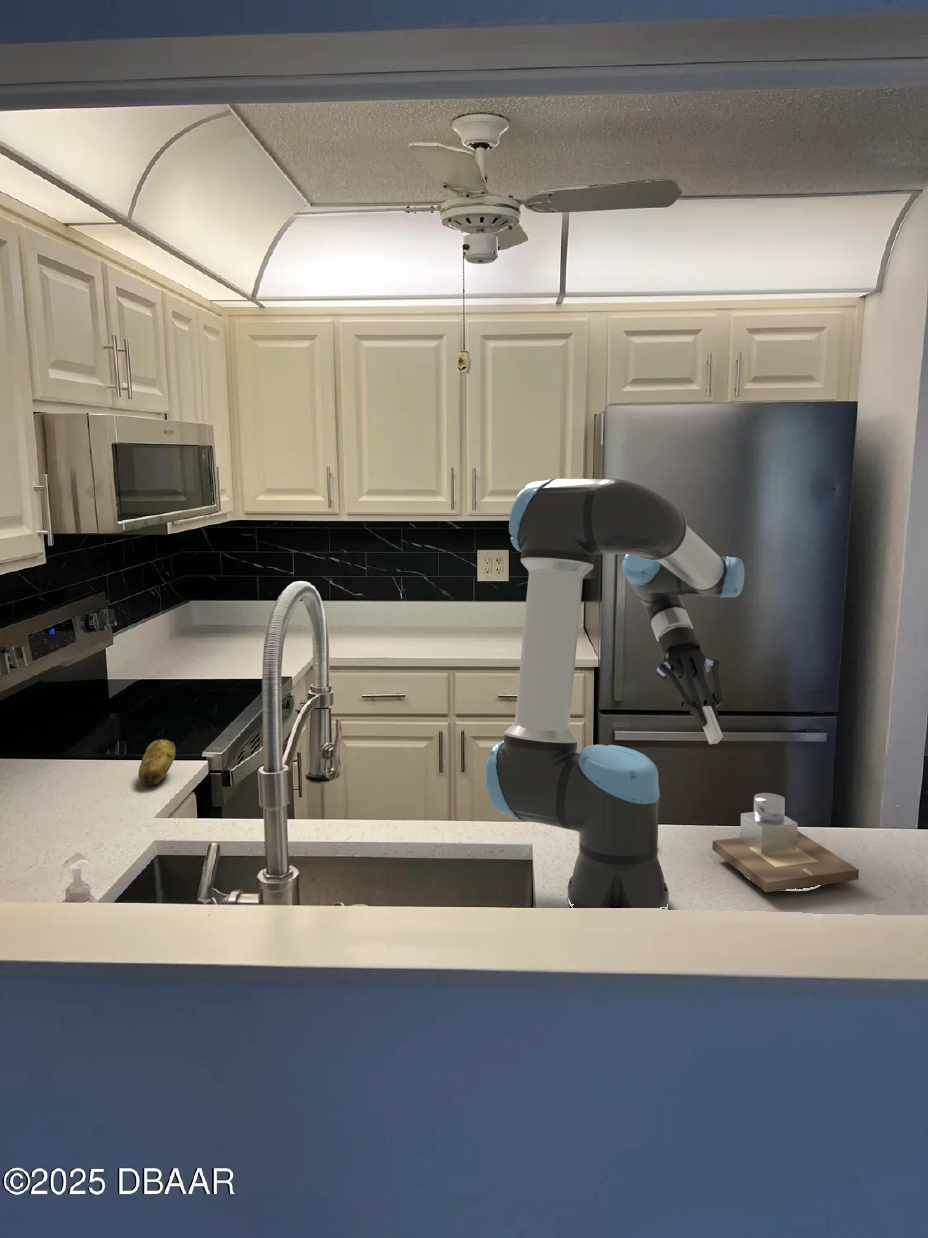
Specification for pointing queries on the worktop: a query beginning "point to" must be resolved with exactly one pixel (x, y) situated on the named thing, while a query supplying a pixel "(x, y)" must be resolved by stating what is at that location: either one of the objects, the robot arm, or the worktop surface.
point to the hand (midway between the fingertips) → (716, 740)
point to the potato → (156, 761)
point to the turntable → (786, 864)
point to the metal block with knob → (768, 825)
